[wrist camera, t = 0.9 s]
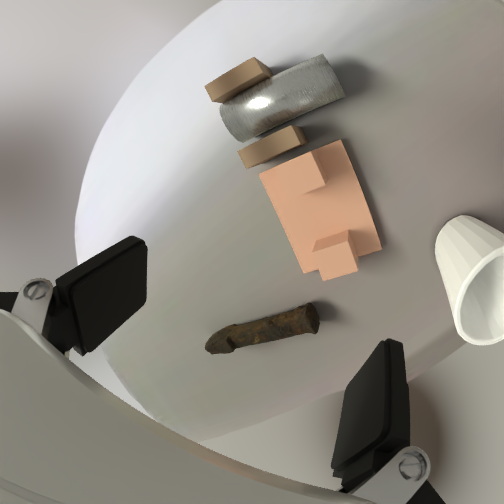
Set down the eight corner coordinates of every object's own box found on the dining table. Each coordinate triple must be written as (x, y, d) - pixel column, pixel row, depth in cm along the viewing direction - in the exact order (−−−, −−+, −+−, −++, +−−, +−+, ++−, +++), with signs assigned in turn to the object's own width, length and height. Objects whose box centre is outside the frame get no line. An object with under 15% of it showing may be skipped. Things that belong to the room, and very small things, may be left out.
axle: (326, 65, 25) (318, 46, 20) (347, 101, 25) (342, 87, 21) (235, 109, 30) (213, 99, 26) (251, 144, 30) (230, 139, 26)
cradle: (340, 139, 27) (339, 139, 23) (381, 246, 30) (384, 262, 26) (261, 173, 32) (247, 179, 28) (305, 269, 35) (298, 287, 31)
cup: (447, 294, 29) (473, 362, 18) (409, 238, 29) (435, 297, 18) (501, 248, 24) (549, 301, 13) (468, 186, 24) (524, 219, 13)
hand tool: (312, 296, 36) (306, 316, 32) (322, 320, 37) (317, 341, 33) (204, 321, 45) (190, 338, 41) (216, 340, 46) (203, 358, 42)
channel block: (268, 67, 26) (253, 56, 22) (308, 142, 28) (300, 143, 24) (224, 91, 29) (204, 86, 25) (261, 163, 31) (246, 169, 27)
